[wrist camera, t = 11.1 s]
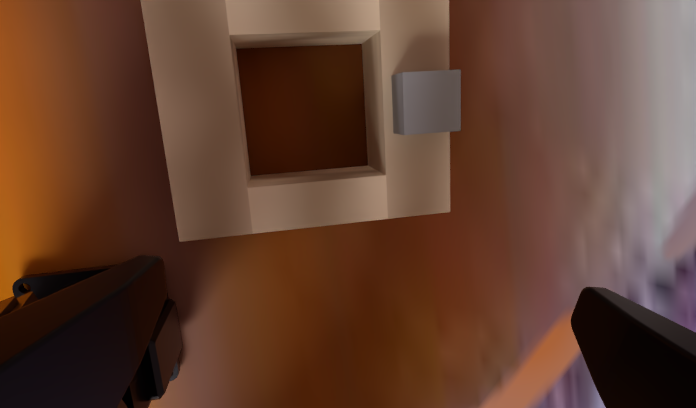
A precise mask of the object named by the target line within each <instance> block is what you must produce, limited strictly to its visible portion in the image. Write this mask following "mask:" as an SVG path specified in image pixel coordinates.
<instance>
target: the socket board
mask: <svg viewBox="0 0 696 408" xmlns="http://www.w3.org/2000/svg"><path fill="white" fill-rule="evenodd" d="M140 1H141V7H142V13H143V19H144V26H145V32H146V38H147V44H148V50H149V57H150V63H151V69H152V75H153V82H154V88H155V94H156V100H157V106H158V113H159V119H160V125H161V131H162V137H163V144H164V150H165V156H166V162H167V169H168V175H169V181H170V187H171V193H172V200H173V206H174V212H175V218H176V224H177V231H178V237H179V242H183V241H192V240H201V239H210V238H219V237H228V236H237V235H246V234H255V233H264V232H274V231H283V230H292V229H301V228H310V227H319V226H328V225H337V224H346V223H355V222H364V221H373V220H382V219H392V218H401V217H410V216H419V215H428V214H437V213H446V212H450V132H453V131H461V69H459V70H449V0H140ZM346 44H362V59H363V79H364V99H365V118H366V138H367V158H368V166H357V167H345V168H334V169H322V170H311V171H300V172H288V173H277V174H265V175H254V176H251V173H250V164H249V156H248V147H247V138H246V130H245V121H244V113H243V104H242V95H241V87H240V78H239V69H238V61H237V52H236V49H237V48H264V47H291V46H319V45H346Z"/></svg>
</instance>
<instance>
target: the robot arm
mask: <svg viewBox="0 0 696 408" xmlns="http://www.w3.org/2000/svg"><path fill="white" fill-rule="evenodd" d="M23 283H25V284H28V285H30V287H31V290H27V289H25V288H24V286H23ZM13 293H14V296H13V297H11V298H8V299H5V300H3V301H0V408H148V407H149V405H150V402H151V400H157V399H160V398H161V397H162V396H163V395H164V393H165V391H166V389H167V386H168V383H169V381H172V380H174V379H175V378H177V376H178V374H179V371H180V364H179V358H178V356H179V354H180V351H181V348H182V338H181V333H180V327H179V321H178V315H177V309H176V303H175V302H174V301H173V300H172V299H168V295H167V289H166V279H165V270H164V262H163V260H162V258H161V257H159V256H148V255H140V256H138V257H135V258H133V259H131V260H128V261H126V262H124V263H122V264H119V265H111V266H102V267H94V268H85V269H77V270H68V271H59V272H51V273H42V274H33V275H26V276H23V277H21V278H20V279H18V280H17V281H16V282H14V284H13ZM571 326H572V330H573V332H574V335H575V337H576V339H577V342H578V345H579V347H580V349H581V352H582V354H583V357H584V359H585V362H586V364H587V367H588V369H589V372H590V374H591V377H592V379H593V381H594V384H595V386H596V388H597V391H598V393H599V395H600V397H601V399H602V401H603V403H604V405H605V407H606V408H696V333H695V332H693V331H691V330H689V329H687V328H685V327H683V326H681V325H679V324H677V323H675V322H673V321H671V320H669V319H667V318H665V317H663V316H661V315H659V314H657V313H655V312H653V311H651V310H649V309H647V308H645V307H643V306H641V305H639V304H637V303H635V302H633V301H631V300H629V299H627V298H625V297H623V296H621V295H619V294H617V293H615V292H613V291H610V290H608V289H606V288H600V287H586V288H584V289H583V290H582V291H581V293H580V296H579V298H578V301H577V304H576V306H575V309H574V311H573V314H572V317H571Z"/></svg>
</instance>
